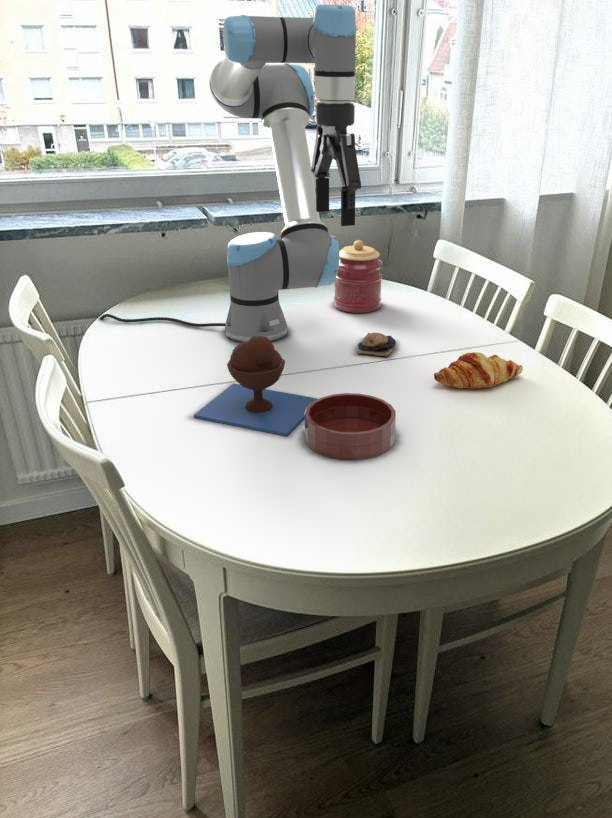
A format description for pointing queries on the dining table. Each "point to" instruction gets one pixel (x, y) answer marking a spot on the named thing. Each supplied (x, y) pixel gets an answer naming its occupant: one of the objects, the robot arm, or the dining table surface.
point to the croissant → (477, 371)
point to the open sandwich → (376, 344)
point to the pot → (350, 426)
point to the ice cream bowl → (256, 369)
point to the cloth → (276, 420)
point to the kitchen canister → (358, 279)
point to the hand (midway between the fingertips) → (334, 218)
